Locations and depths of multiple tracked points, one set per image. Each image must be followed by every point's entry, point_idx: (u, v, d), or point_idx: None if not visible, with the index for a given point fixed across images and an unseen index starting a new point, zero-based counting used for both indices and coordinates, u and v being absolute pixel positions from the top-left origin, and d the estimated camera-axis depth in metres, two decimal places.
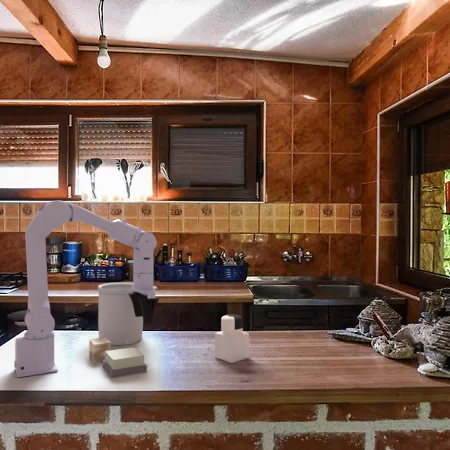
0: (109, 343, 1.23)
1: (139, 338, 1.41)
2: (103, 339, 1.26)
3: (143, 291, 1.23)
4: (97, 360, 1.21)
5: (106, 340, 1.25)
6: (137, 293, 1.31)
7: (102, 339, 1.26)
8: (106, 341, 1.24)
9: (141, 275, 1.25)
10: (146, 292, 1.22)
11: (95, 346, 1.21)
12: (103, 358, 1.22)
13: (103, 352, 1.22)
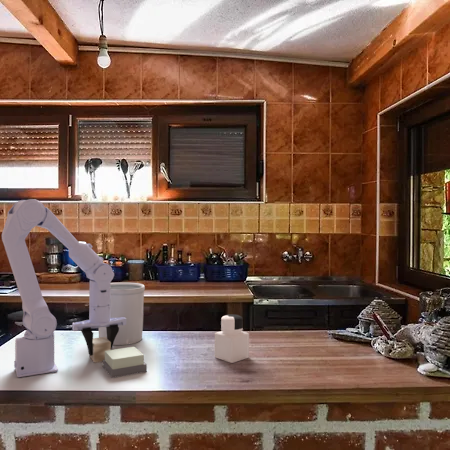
0: (109, 343, 1.23)
1: (139, 338, 1.41)
2: (103, 339, 1.26)
3: None
4: (97, 360, 1.21)
5: (106, 340, 1.25)
6: (108, 327, 1.26)
7: (102, 339, 1.26)
8: (106, 341, 1.24)
9: None
10: None
11: (95, 346, 1.21)
12: (103, 358, 1.22)
13: (103, 352, 1.22)
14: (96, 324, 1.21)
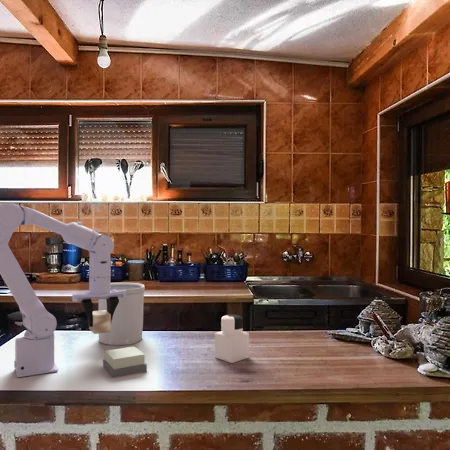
0: (109, 314, 1.23)
1: (139, 338, 1.41)
2: (103, 311, 1.26)
3: None
4: (97, 331, 1.21)
5: (106, 312, 1.25)
6: (108, 299, 1.26)
7: (102, 311, 1.26)
8: (106, 313, 1.24)
9: None
10: None
11: (95, 317, 1.21)
12: (103, 329, 1.22)
13: (103, 323, 1.22)
14: (96, 295, 1.21)
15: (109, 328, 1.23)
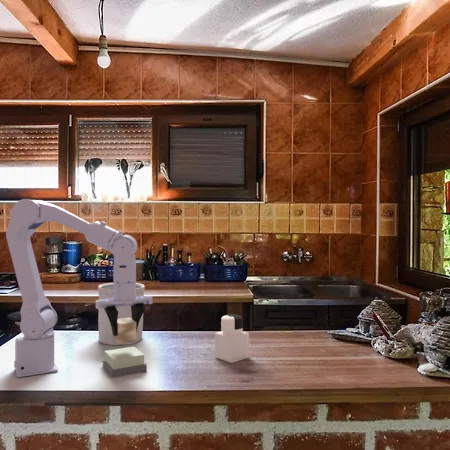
0: (134, 323, 1.14)
1: (139, 338, 1.41)
2: (127, 319, 1.17)
3: None
4: (122, 341, 1.13)
5: (131, 320, 1.16)
6: (133, 305, 1.17)
7: (126, 319, 1.17)
8: (131, 321, 1.15)
9: None
10: None
11: (120, 325, 1.12)
12: (128, 339, 1.13)
13: (128, 332, 1.13)
14: (121, 302, 1.12)
15: (134, 337, 1.14)
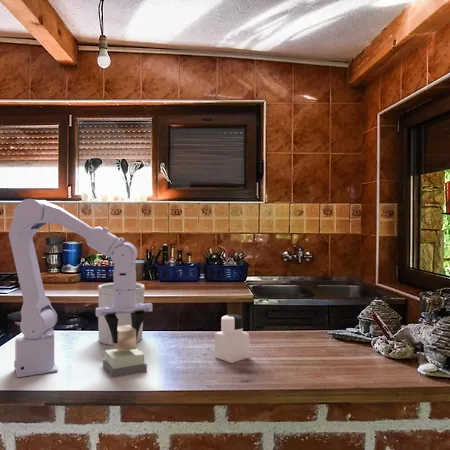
0: (134, 330, 1.14)
1: (139, 338, 1.41)
2: (127, 326, 1.17)
3: None
4: (122, 348, 1.13)
5: (131, 327, 1.16)
6: (133, 313, 1.17)
7: (126, 326, 1.17)
8: (131, 328, 1.15)
9: None
10: None
11: (120, 333, 1.12)
12: (128, 346, 1.13)
13: (128, 340, 1.13)
14: (121, 309, 1.12)
15: (134, 345, 1.14)
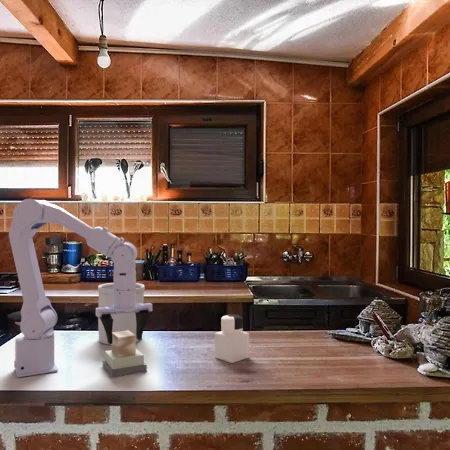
0: (134, 336, 1.14)
1: None
2: (126, 332, 1.17)
3: None
4: (121, 354, 1.13)
5: (130, 333, 1.16)
6: (138, 312, 1.18)
7: (125, 332, 1.17)
8: (130, 334, 1.15)
9: None
10: None
11: (119, 339, 1.12)
12: (128, 352, 1.13)
13: (128, 345, 1.13)
14: (121, 309, 1.12)
15: (134, 350, 1.14)
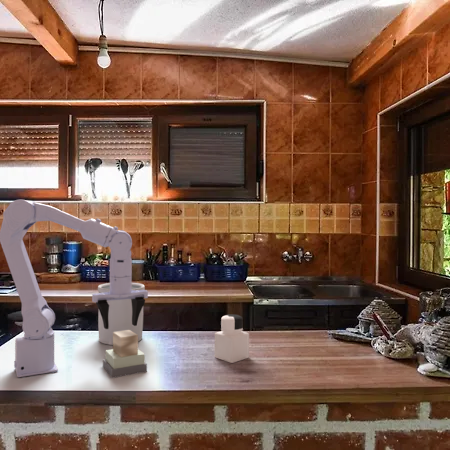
0: (136, 335, 1.14)
1: (139, 338, 1.41)
2: (128, 332, 1.17)
3: None
4: (124, 354, 1.12)
5: (132, 332, 1.16)
6: (133, 299, 1.21)
7: (127, 332, 1.17)
8: (132, 333, 1.15)
9: None
10: None
11: (122, 339, 1.12)
12: (130, 352, 1.13)
13: (130, 345, 1.13)
14: (117, 295, 1.15)
15: (136, 350, 1.14)
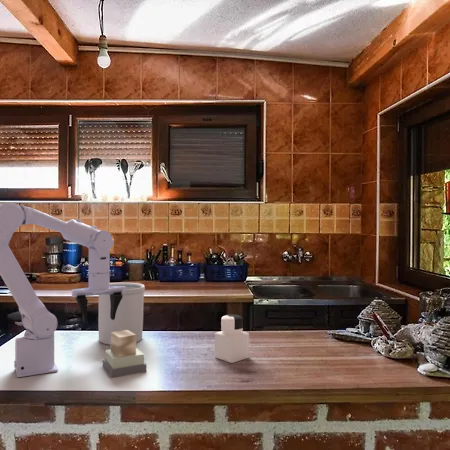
0: (134, 335, 1.14)
1: (139, 338, 1.41)
2: (126, 331, 1.17)
3: None
4: (122, 354, 1.13)
5: (130, 332, 1.16)
6: (111, 294, 1.27)
7: (125, 331, 1.17)
8: (130, 333, 1.15)
9: None
10: None
11: (120, 339, 1.12)
12: (128, 351, 1.13)
13: (128, 345, 1.13)
14: (95, 291, 1.22)
15: (134, 350, 1.14)
